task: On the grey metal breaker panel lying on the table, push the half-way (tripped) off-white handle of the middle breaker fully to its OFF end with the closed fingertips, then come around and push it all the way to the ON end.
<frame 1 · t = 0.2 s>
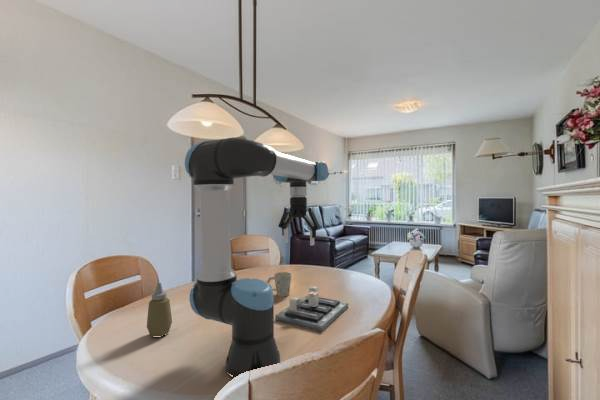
hand: (298, 244, 130), 27 cm above the table, fingers open, 13 cm apart
squeeze bottle: (159, 335, 102), on the table
mug: (278, 294, 143), on the table
tripped breaker: (313, 299, 119), point 6 cm above the table, slide at 0.0 cm
panel: (313, 313, 119), on the table
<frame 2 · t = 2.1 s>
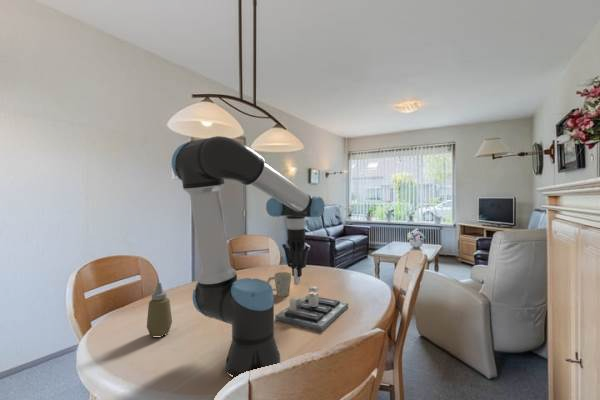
hand: (297, 283, 123), 11 cm above the table, fingers closed
nothing on the table moved.
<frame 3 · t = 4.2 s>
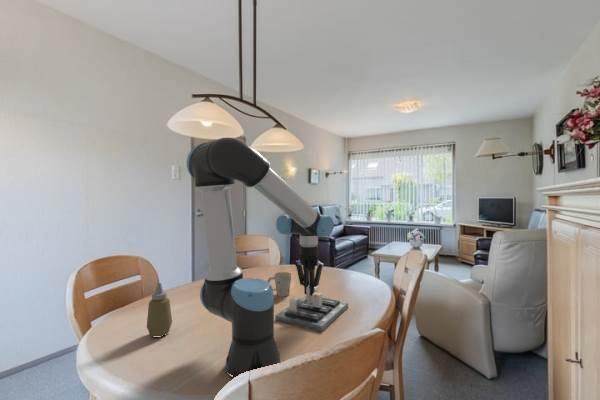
hand: (309, 302, 120), 4 cm above the table, fingers closed
tripped breaker: (317, 299, 118), point 6 cm above the table, slide at -1.6 cm, touching gripper
everything else where it was.
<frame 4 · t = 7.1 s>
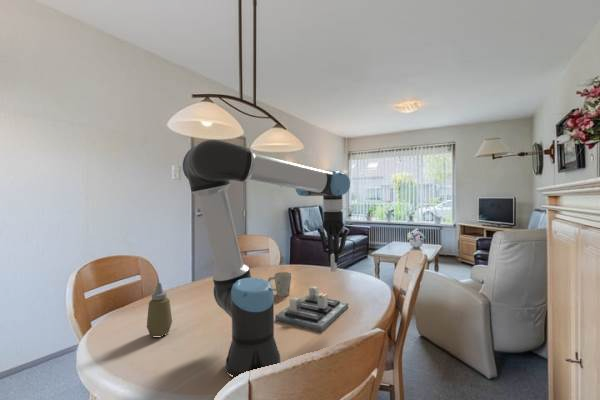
hand: (333, 270, 114), 19 cm above the table, fingers closed
tripped breaker: (322, 300, 117), point 6 cm above the table, slide at -4.1 cm
everything else where it was.
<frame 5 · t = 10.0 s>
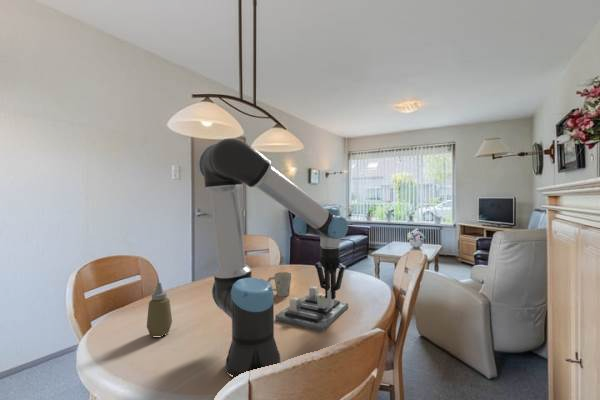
hand: (330, 306, 115), 4 cm above the table, fingers closed
tripped breaker: (322, 300, 117), point 6 cm above the table, slide at -3.9 cm, touching gripper
everything else where it was.
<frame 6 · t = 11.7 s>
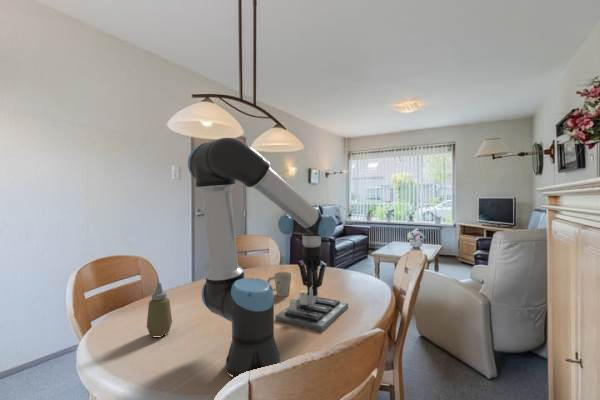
hand: (312, 303, 119), 4 cm above the table, fingers closed
tripped breaker: (304, 297, 121), point 6 cm above the table, slide at 4.1 cm, touching gripper
everything else where it was.
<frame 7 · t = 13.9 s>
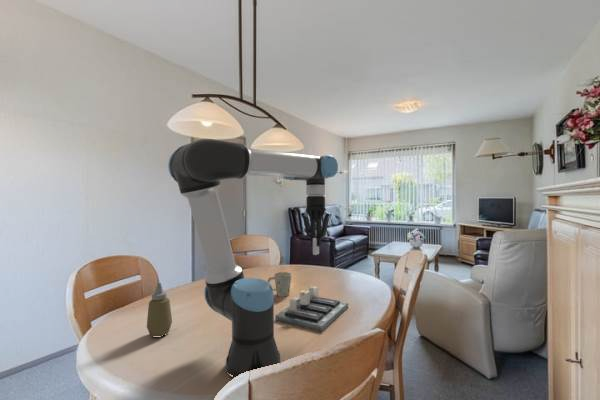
hand: (316, 254, 117), 25 cm above the table, fingers closed
tripped breaker: (304, 297, 121), point 6 cm above the table, slide at 4.1 cm
everything else where it was.
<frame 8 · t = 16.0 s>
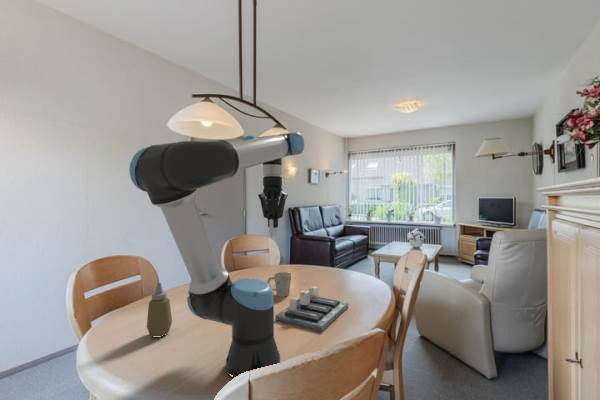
hand: (273, 235, 115), 32 cm above the table, fingers closed
nothing on the table moved.
at the end: tripped breaker slide at 4.1 cm; tripped breaker touching nothing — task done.
